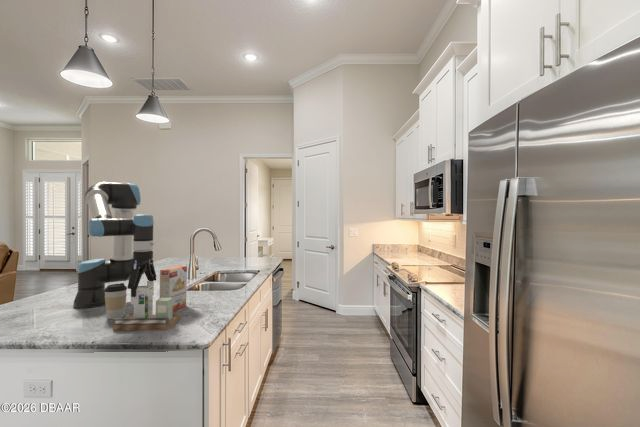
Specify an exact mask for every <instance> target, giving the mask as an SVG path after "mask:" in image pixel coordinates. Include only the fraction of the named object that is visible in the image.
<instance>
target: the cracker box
mask: <svg viewBox="0 0 640 427" xmlns="http://www.w3.org/2000/svg"><path fill="white" fill-rule="evenodd" d="M187 274H188V266H185V265H175V266H172V267H167V268H162V269H159V297H158V299H160V298H173V312H175V311H177V310H179V309H182V308H184V307H187V284H188V283H187V282H188V279H187V278H188V275H187Z"/></svg>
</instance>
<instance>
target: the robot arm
mask: <svg viewBox="0 0 640 427" xmlns="http://www.w3.org/2000/svg"><path fill="white" fill-rule="evenodd" d="M141 198H142V197H141V193H140V189H139V186H138V185H137V184H136V183H130V182H114V181H113V182H111V181H101V182H97V183H95V184H92V185H91V186H90V187H89V188H87V190H86V191H85V193H84V201H85V203H86V205H88V208H89V211H90V215H91V219H89V220H88V226H87V227H88V228H87V229H88V235H89V236H91V237H113V254H112V255H110V257H109V260H106V259H105V258H94V259H89V260H84V261H82V262H80V263H79V264H78V266H77V292H76V295H75V297H74V300H73V304H72V305H73V308H75V309H91V308H99V307H102V306H106V304H105V291H104V290H105V288H106V284H108V283H116V282H126V281H128V283H127V286H126V287H127V289H129V290H130V305H134V304H138V299H139V288H137V287H138V286H139V285H140V284H139V283H140V281H141V278H142V276H143V275H145V277H146V279H147V280H146V286H153V296H154V295H155V294H154V290H155V289H154V288H155V287H154V284H155V283H154V282H155V281H157V274H156V270H155V266H154V251H153V249H154V244H155V243H154V225H155V224H154V222H155V221H154V216H153V215H152V214H134V211H136V210H137V206H139V205H141ZM110 205H111V209H112V210H114V217H113V215H112V212H111V209H110Z"/></svg>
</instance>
